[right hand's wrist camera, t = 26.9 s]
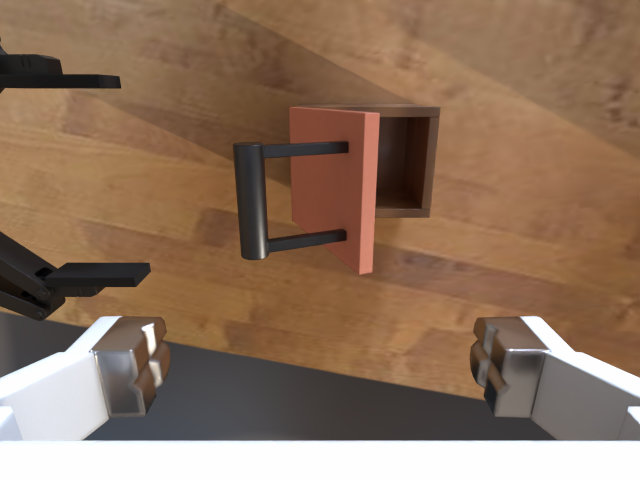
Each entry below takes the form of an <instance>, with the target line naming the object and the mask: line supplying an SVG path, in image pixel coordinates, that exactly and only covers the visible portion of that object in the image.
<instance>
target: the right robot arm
mask: <svg viewBox="0 0 640 480" xmlns="http://www.w3.org/2000/svg"><path fill="white" fill-rule="evenodd" d="M166 332H167V331H166V326H165V321H164V320H163V319H162V318H161V317H129V316H124V317H122V316H105V317H100V318H99V319H98V320H97V321H96V322H95V323H94V324H93V325H92V326H91V327H90V328H89V329H88V330H87V331H86V332H85V333H84V334H83V335H82V336H81V337H80V338H79V339H78V340H77V341H76V342H75V343H74V344H73V345H72V346H71V347H70V348H69V349H68V350H67V351H66V352H58V353H56V354H53V355H51V356H49V357H47V358H44V359H42V360H40V361H38V362H35V363H33V364H31V365H29V366H26V367H24V368H22V369H20V370H17V371H15V372H13V373H11V374H8V375H6V376H4V377H1V378H0V480H640V378H638V377H636V376H634V375H632V374H629V373H627V372H625V371H623V370H620V369H618V368H616V367H614V366H611V365H609V364H607V363H605V362H602V361H600V360H598V359H596V358H593V357H591V356H589V355H587V354H584V353H582V352H574V351H573V350H572V349H571V348H570V347H569V346H568V345H567V344H566V343H565V342H564V341H563V340H562V339H561V338H560V337H559V336H558V335H557V334H556V333H555V332H554V331H553V330H552V329H551V328H550V327H549V326H548V325H547V324H546V323H545V322H544V321H543V320H542V319H541V318H540V317H537V316H522V317H483V318H477V320H476V322H475V325H474V331H473V332H474V334H475V335H476V337H477V339H478V340H477V341H476V342H475V343H474V344H473V345H472V346H471V351H470V366H471V371H472V374H473V377H474V379H475V381H476V383H477V384H478V385H480V386H481V387H483V388H485V392H484V398H485V399H486V401H487V403H488V405H489V407H490V408H491V410H492V412H493V414H494V416H496V417H531V419H532V420H533V421H534V422H535V423H537V424H538V425H539V426H540V427H542V428H543V429H544V430H546V431H547V432H548V433H549V434H551V435H552V436H553V437H555V438H556V439H557V440H558V441H82V440H83V439H84V438H86V437H87V436H88V435H89V434H91V433H92V432H93V431H95V430H96V429H97V428H98V427H100V426H101V425H102V424H104V423H105V422H106V421H107V420H108V419H109V417H142V416H146V414H147V412H148V410H149V408H150V407H151V405H152V403H153V401H154V399H155V398H156V392H155V388H157V387H159V386H160V385H161V384H163V383H164V381H165V379H166V377H167V375H168V371H169V366H170V350H169V346H168V345H167V344H166V343H165V342H164V341H163V340H162V339H163V337H164V335H165V334H166Z"/></svg>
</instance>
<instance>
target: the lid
mask: <svg viewBox="0 0 640 480" xmlns="http://www.w3.org/2000/svg"><path fill="white" fill-rule="evenodd" d="M289 118H290V144H270V145H263V143H260V142H239V143H234V144H233V152H234V165H235V179H236V192H237V205H238V218H239V231H240V244H241V256H242V258H244V259H247V260H260V259H264V258H266V257H267V256H268V255H269V253H270V252H276V251H283V250H289V249H296V248H302V247H309V246H315V245H323V246H324V247H326V248H327V249H328V250H329V251H331V252H332V253H333V254H334V255H335V256H337V257H338V258H339V259H340V260H342V261H343V262H344V263H345V264H346V265H348V266H349V267H350V268H351V269H353V270H354V271H355V272H356V273H357V274H359V275H360V274H366V273H371V272H372V263H373V242H374V222H375V201H376V180H377V160H378V139H379V119H380V113H375V112H361V111H348V110H334V109H321V108H307V107H289ZM276 157H291V193H292V220H293V221H294V222H295V223H296V224H298V225H299V226H300V227H301V228H302V229H304V230H305V231H306V232H307V234H300V235H293V236H286V237H279V238H272V239H268V226H267V205H266V185H265V165H264V158H276Z"/></svg>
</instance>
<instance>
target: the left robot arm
mask: <svg viewBox="0 0 640 480" xmlns="http://www.w3.org/2000/svg"><path fill="white" fill-rule="evenodd" d="M0 41H1V39H0ZM4 88H121V84H120V78H119V76H109V75H98V74H63V72H62V68H61V63H60V60H59V59H56V58H54V57H51V56H44V55H37V54H28V55H27V54H22V55H20V54H7V53H6V52H5V51H4V50H3V49H2V47H1V46H0V93H1V92H2V91H3V90H4ZM150 272H151V269H150V263H66V264H64V265H63V266H61V267H60V268H58V269H57V268H56V267H54V266H53V265H51V264H50V263H48V262H46V261H45V260H43V259H42V258H40V257H39V256H37V255H36V254H34V253H33V252H31V251H30V250H28V249H26V248H25V247H23V246H22V245H20V244H19V243H17V242H16V241H14V240H13V239H11V238H10V237H8V236H6V235H5V234H3V233H2V232H0V306H1V307H4V308H6V309H9V310H12V311H14V312H17V313H19V314H22V315H24V316H27V317H30V318H32V319H35V320H38V321H42V320H44V319H46V318H47V317H48V316H49V315H51V314H52V313H53V312H54V311H55V310H57V309H58V308H59V307H60V306H62V305H63V304H64V303H65V297H83V296H84V297H92V296H94V295H97V294H98V293H99V292H100V291H101V290H103V289H104V288H105V287H136V286H137V285H138V284H139V283H140V282H141V281H142V280H143V279H144V278H145V277H146V276H147V275H148V274H149V273H150Z"/></svg>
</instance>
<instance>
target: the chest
mask: <svg viewBox="0 0 640 480" xmlns="http://www.w3.org/2000/svg"><path fill="white" fill-rule="evenodd" d="M296 107H307V108H321V109H334V110H348V111H361V112H375V113H380V119H379V139H378V160H377V180H376V201H375V218H429V217H430V208H431V198H432V188H433V178H434V168H435V158H436V148H437V138H438V128H439V116H440V107H439V106H429V105H419V104H300V105H298V106H296Z"/></svg>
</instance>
